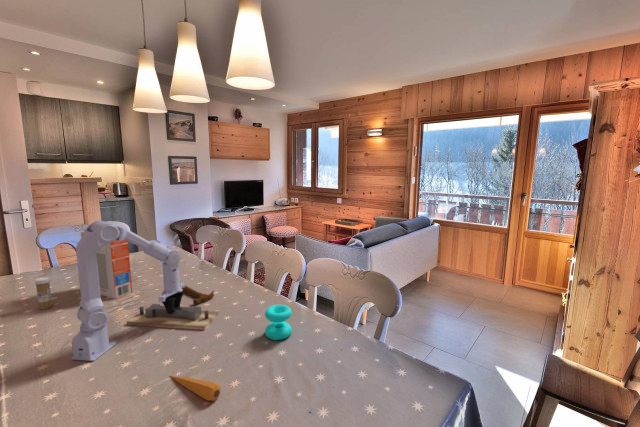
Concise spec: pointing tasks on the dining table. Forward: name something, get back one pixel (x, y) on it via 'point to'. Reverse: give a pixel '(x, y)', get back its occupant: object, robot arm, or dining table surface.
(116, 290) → the pasta box
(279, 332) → the donuts
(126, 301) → the dining table surface
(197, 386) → the carrot
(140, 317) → the oak board
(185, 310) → the drawer pull handle
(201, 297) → the hammer
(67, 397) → the dining table surface
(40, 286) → the sprinkles bottle
